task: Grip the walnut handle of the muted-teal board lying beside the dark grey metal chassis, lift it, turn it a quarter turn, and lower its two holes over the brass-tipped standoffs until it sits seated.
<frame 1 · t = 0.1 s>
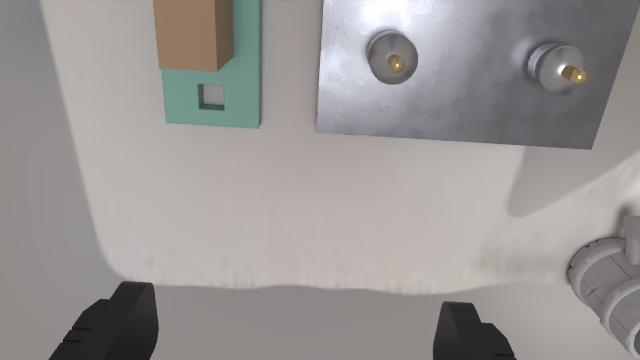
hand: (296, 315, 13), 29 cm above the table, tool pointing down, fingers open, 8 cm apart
mug: (607, 248, 46), on the table
chassis: (464, 55, 38), on the table
board: (212, 14, 37), on the table
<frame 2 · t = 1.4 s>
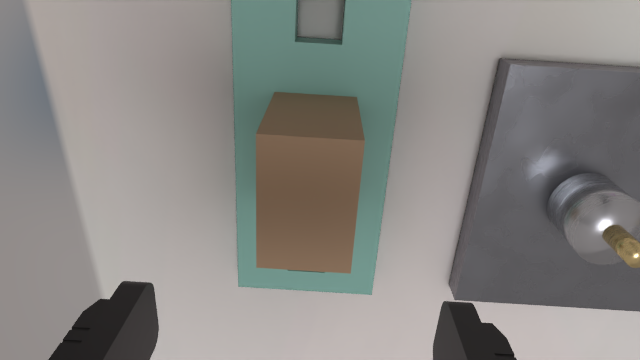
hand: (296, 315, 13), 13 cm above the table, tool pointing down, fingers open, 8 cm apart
board: (313, 141, 25), on the table
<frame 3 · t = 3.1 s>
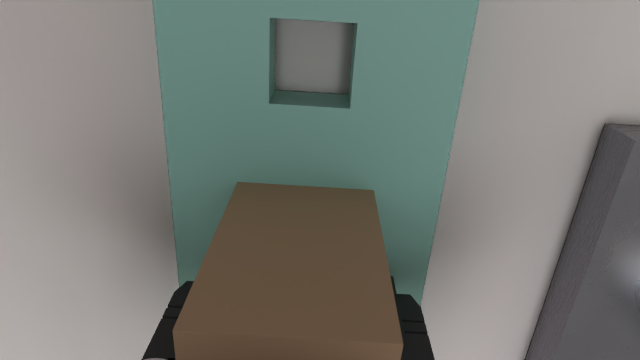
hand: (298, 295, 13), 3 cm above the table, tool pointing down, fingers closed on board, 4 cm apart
board: (304, 244, 16), on the table, touching gripper
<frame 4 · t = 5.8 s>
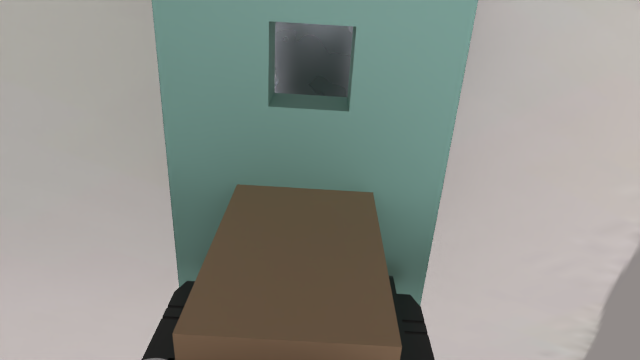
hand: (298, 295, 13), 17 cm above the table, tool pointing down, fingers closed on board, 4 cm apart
chassis: (326, 48, 27), on the table
board: (303, 245, 16), point 15 cm above the table, touching gripper
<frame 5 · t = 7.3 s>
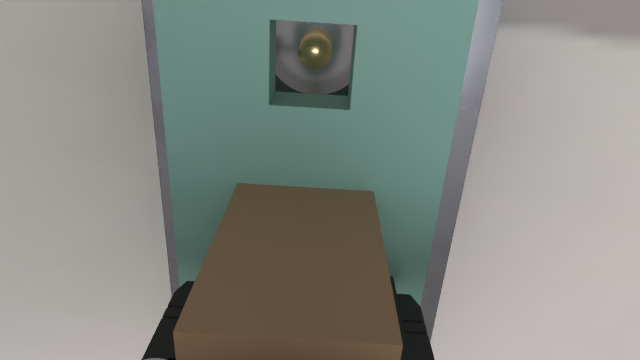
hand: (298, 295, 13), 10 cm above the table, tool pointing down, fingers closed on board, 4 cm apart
chassis: (312, 165, 22), on the table
board: (303, 244, 16), point 7 cm above the table, touching gripper
when the fingers open (7 cm above the table, at t = 8.7 s): board stays where it is, resting on chassis.
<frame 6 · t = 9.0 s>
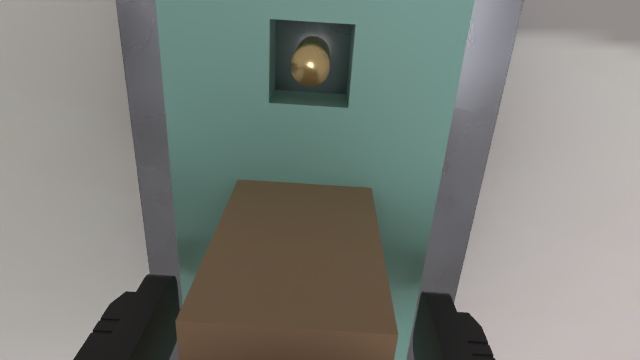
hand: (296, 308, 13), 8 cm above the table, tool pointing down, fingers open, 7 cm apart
chassis: (309, 185, 20), on the table
board: (303, 241, 16), point 4 cm above the table, touching chassis
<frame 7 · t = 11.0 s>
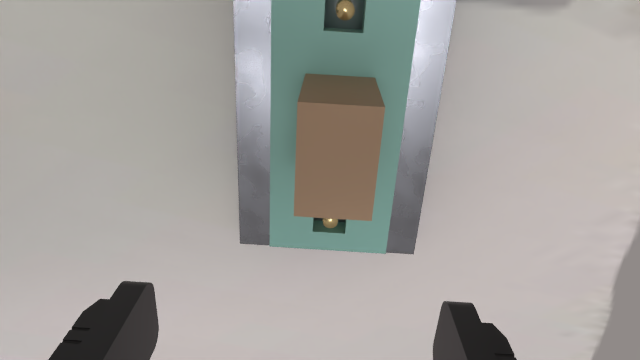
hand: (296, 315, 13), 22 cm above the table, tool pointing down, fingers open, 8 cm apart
chassis: (336, 98, 33), on the table
board: (336, 117, 29), point 4 cm above the table, touching chassis
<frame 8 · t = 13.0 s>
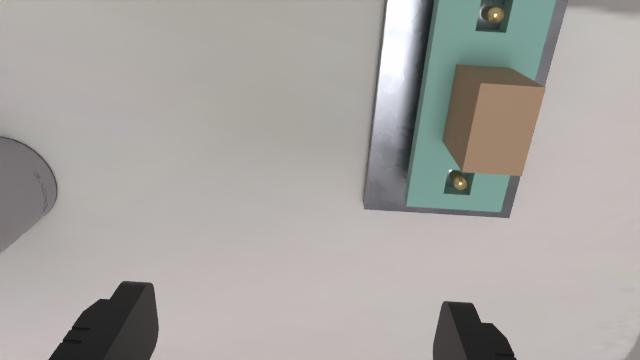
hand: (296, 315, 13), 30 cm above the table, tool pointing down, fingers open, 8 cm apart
chassis: (455, 86, 40), on the table
board: (469, 100, 36), point 4 cm above the table, touching chassis
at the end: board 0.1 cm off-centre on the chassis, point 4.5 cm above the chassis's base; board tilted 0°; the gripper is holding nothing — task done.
